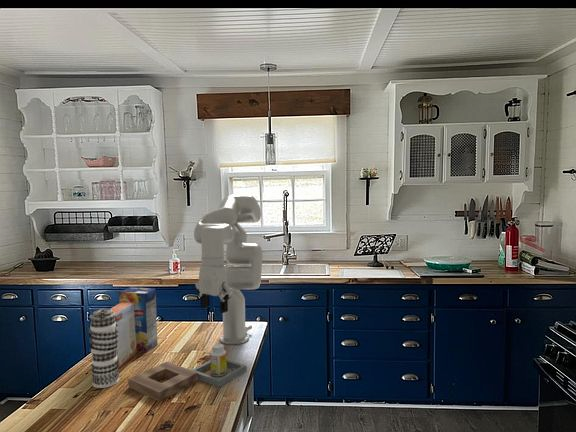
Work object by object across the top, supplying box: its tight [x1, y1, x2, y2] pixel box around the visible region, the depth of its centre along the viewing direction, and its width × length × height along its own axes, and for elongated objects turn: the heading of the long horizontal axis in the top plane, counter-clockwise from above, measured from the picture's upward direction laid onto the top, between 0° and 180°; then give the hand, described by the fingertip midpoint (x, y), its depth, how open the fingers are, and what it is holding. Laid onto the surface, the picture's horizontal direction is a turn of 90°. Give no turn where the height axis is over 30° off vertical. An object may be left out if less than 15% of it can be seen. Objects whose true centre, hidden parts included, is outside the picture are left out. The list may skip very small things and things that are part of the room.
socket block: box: [127, 361, 199, 403], centre depth 141 cm, size 16×16×3 cm
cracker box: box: [110, 302, 138, 369], centre depth 160 cm, size 14×6×21 cm, turn 173°
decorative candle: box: [87, 308, 120, 389], centre depth 143 cm, size 9×9×25 cm
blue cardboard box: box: [118, 287, 158, 353], centre depth 172 cm, size 12×8×24 cm, turn 77°
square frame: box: [191, 358, 248, 388], centre depth 149 cm, size 14×14×2 cm
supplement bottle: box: [209, 343, 228, 378], centre depth 148 cm, size 6×6×10 cm
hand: (214, 309), depth 147 cm, fingers open, 9 cm apart
